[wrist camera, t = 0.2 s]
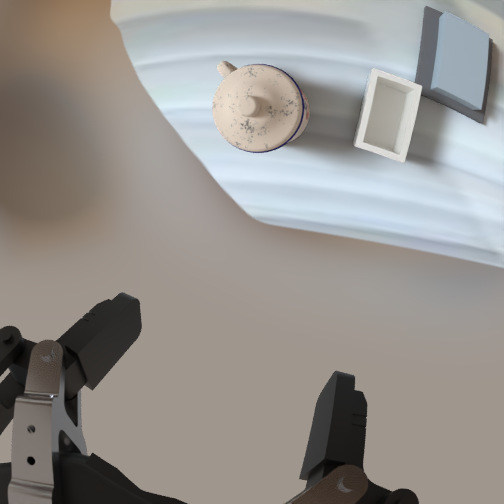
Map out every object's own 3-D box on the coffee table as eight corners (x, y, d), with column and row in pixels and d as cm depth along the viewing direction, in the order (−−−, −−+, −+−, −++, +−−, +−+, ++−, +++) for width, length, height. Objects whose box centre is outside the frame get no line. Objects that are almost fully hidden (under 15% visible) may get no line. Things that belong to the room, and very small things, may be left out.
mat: (424, 8, 20) (426, 5, 19) (489, 41, 18) (492, 39, 17) (412, 91, 26) (414, 90, 25) (479, 123, 24) (482, 123, 23)
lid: (439, 17, 19) (445, 11, 17) (480, 38, 18) (488, 34, 16) (430, 89, 24) (437, 86, 22) (472, 109, 23) (481, 109, 21)
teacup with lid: (327, 117, 31) (322, 112, 21) (271, 160, 35) (241, 176, 25) (263, 48, 29) (230, 20, 19) (212, 93, 33) (163, 86, 23)
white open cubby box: (367, 75, 27) (372, 68, 23) (411, 91, 26) (422, 86, 22) (352, 143, 31) (354, 146, 27) (395, 158, 30) (404, 163, 26)
